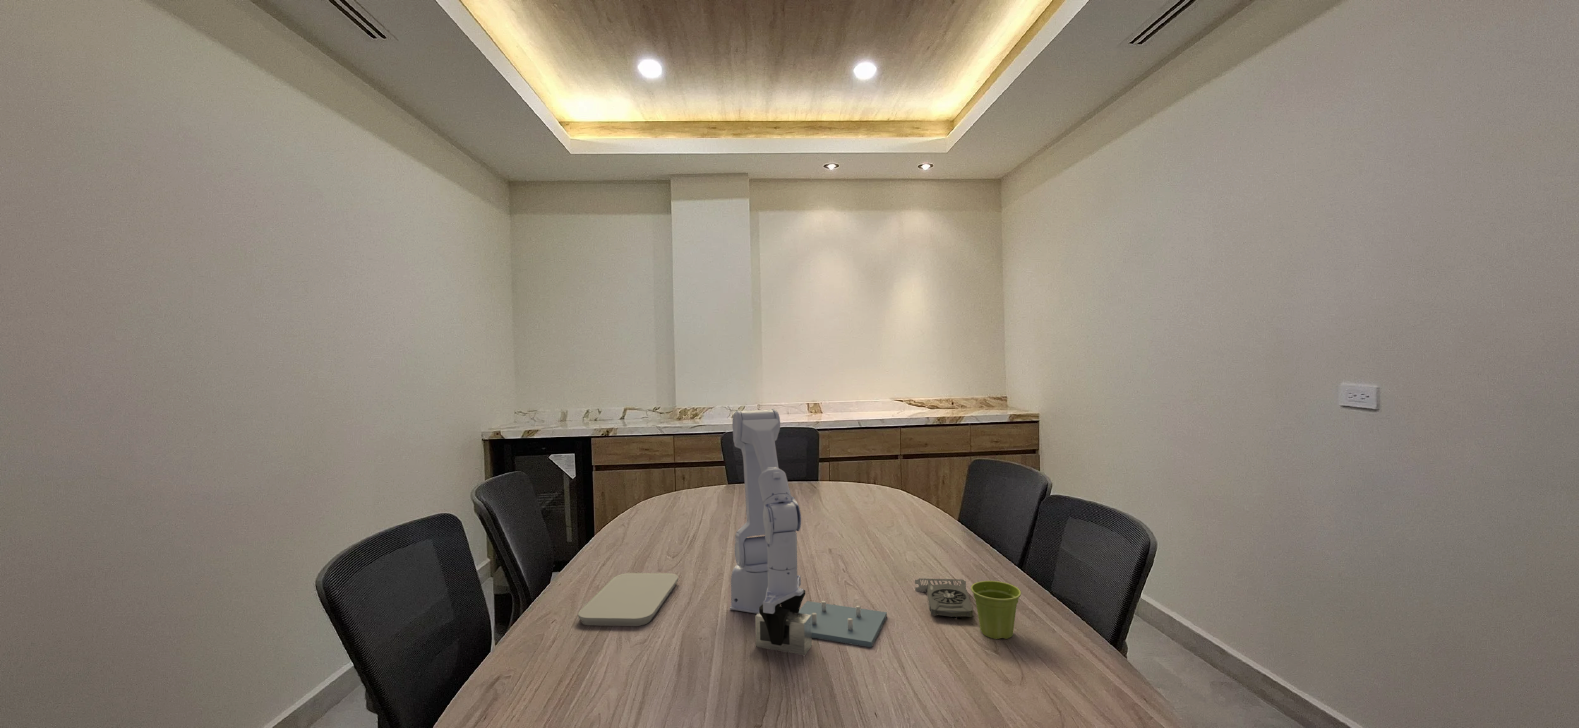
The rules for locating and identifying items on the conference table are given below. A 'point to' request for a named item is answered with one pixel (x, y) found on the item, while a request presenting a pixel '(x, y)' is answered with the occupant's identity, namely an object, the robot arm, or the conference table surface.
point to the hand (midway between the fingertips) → (783, 635)
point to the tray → (844, 623)
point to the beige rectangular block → (787, 634)
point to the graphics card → (947, 597)
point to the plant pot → (996, 607)
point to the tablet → (628, 599)
